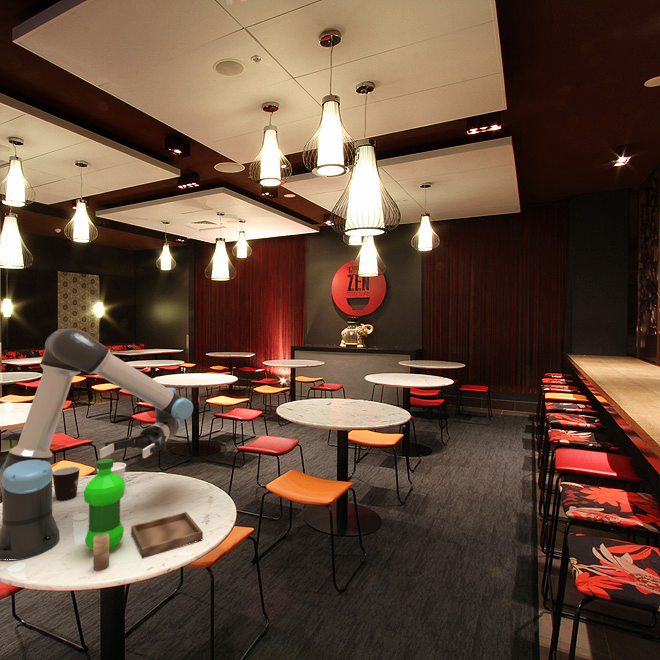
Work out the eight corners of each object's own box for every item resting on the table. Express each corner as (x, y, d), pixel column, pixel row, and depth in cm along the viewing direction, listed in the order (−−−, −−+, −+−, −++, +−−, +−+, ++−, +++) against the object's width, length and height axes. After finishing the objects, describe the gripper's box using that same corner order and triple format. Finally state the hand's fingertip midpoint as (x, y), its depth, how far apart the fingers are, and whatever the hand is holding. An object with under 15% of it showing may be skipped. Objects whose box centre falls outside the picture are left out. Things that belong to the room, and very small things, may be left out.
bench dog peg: (94, 572, 105) (94, 541, 105) (92, 565, 108) (92, 535, 108) (109, 567, 107) (109, 537, 107) (108, 561, 110) (108, 531, 110)
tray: (142, 558, 112) (142, 549, 112) (131, 533, 126) (131, 525, 126) (202, 540, 122) (202, 531, 122) (186, 519, 135) (186, 511, 135)
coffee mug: (66, 503, 148) (66, 475, 148) (46, 501, 150) (46, 474, 150) (91, 490, 159) (91, 465, 159) (72, 489, 161) (72, 463, 161)
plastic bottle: (94, 540, 122) (94, 456, 122) (131, 538, 123) (131, 455, 123) (76, 558, 112) (76, 467, 112) (116, 557, 113) (116, 466, 113)
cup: (118, 488, 162) (118, 460, 162) (131, 494, 156) (131, 465, 156) (91, 496, 154) (91, 467, 154) (104, 503, 148) (104, 473, 148)
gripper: (188, 445, 147) (162, 465, 126) (120, 446, 148) (83, 465, 127) (188, 425, 147) (161, 441, 126) (120, 425, 148) (82, 441, 127)
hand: (122, 453), depth 127 cm, fingers open, 13 cm apart
